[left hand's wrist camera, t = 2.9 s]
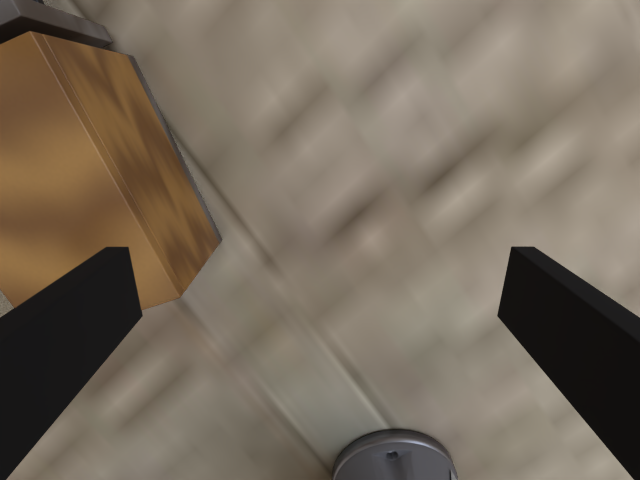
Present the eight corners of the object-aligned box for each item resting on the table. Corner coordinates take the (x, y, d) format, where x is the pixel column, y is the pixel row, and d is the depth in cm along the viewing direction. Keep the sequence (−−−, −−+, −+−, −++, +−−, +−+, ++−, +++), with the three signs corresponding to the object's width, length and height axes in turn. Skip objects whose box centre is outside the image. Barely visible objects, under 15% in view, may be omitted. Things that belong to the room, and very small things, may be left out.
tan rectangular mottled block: (17, 105, 30) (-140, 106, 20) (133, 56, 29) (29, 29, 19) (121, 274, 36) (40, 344, 26) (222, 239, 35) (180, 298, 24)
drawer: (-49, 0, 27) (-222, -49, 18) (65, -55, 26) (-63, -135, 17) (102, 245, 34) (28, 294, 25) (197, 211, 33) (153, 250, 24)
